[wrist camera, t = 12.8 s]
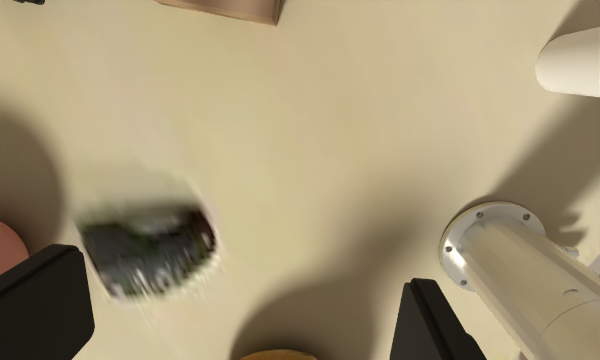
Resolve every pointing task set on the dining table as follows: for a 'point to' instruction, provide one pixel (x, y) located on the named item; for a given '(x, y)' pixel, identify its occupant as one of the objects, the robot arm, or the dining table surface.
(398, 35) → the dining table surface
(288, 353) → the ceramic pitcher
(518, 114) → the dining table surface
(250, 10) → the walnut block
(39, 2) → the end cap
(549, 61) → the white cup
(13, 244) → the balloon
